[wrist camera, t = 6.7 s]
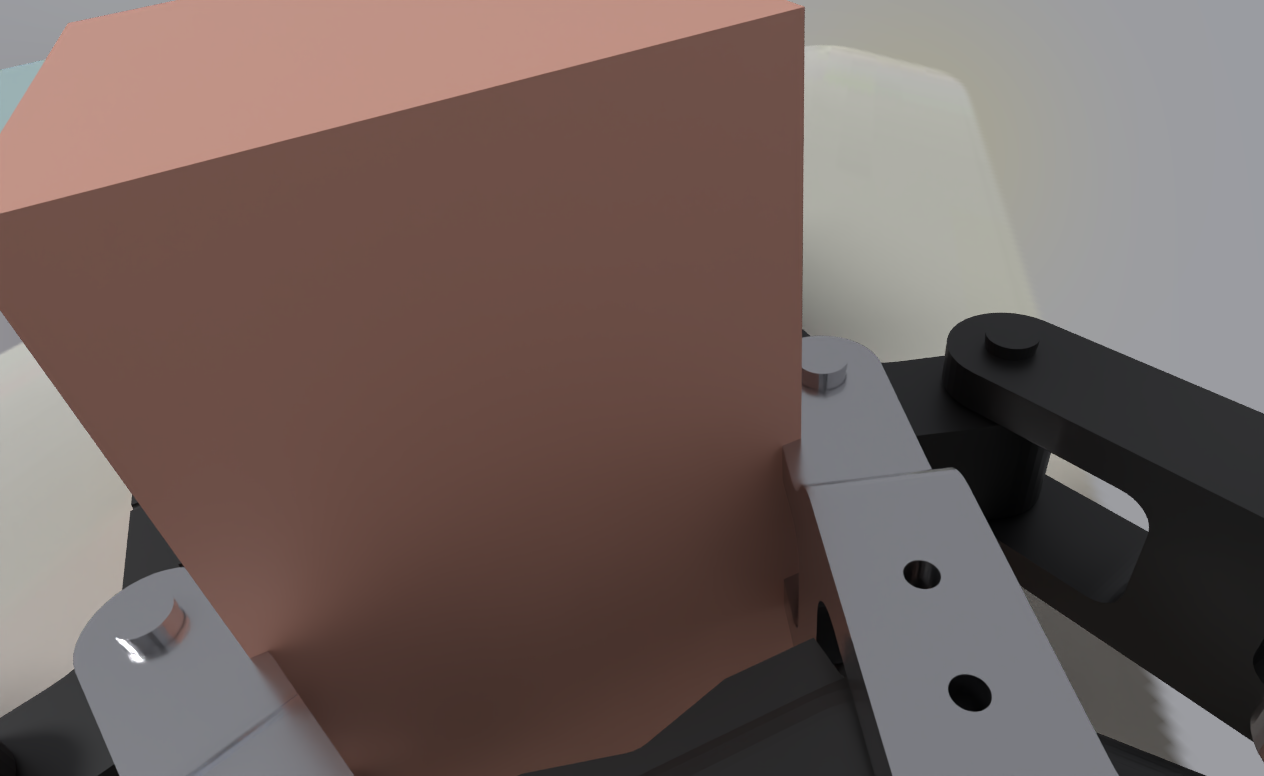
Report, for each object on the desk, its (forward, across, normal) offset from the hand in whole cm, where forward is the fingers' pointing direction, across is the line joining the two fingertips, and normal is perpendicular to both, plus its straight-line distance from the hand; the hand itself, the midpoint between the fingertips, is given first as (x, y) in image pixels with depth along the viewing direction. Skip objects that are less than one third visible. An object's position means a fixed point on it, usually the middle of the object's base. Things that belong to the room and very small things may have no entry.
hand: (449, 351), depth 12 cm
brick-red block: (-3, 0, +7) cm, 7 cm away
